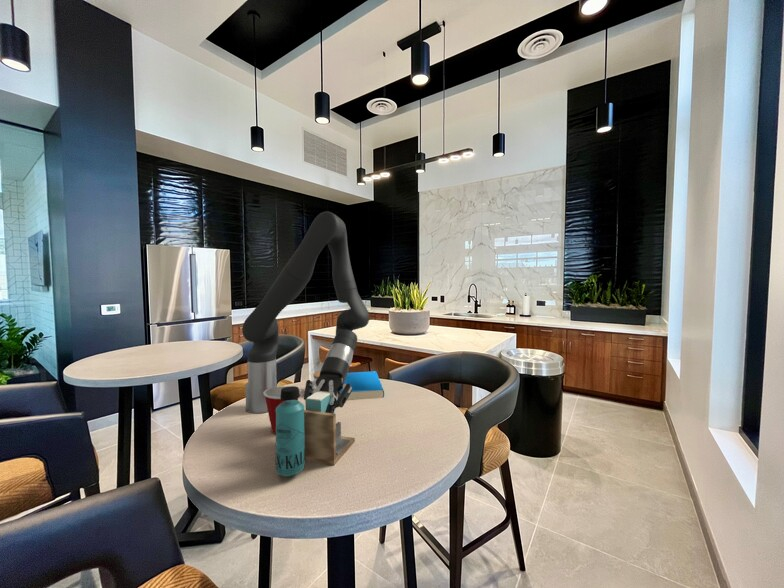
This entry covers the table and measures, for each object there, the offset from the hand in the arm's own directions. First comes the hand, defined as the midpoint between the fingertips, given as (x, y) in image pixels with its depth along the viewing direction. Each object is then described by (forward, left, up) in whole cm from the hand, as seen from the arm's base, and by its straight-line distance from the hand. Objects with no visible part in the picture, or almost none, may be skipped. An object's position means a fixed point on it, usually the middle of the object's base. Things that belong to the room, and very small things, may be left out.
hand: (316, 419), depth 82 cm
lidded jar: (-13, +44, -9) cm, 47 cm away
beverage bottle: (-2, -11, -9) cm, 14 cm away
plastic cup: (-14, +10, -9) cm, 20 cm away
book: (0, +50, -9) cm, 51 cm away
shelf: (0, +1, -8) cm, 8 cm away
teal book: (0, +2, -6) cm, 7 cm away
